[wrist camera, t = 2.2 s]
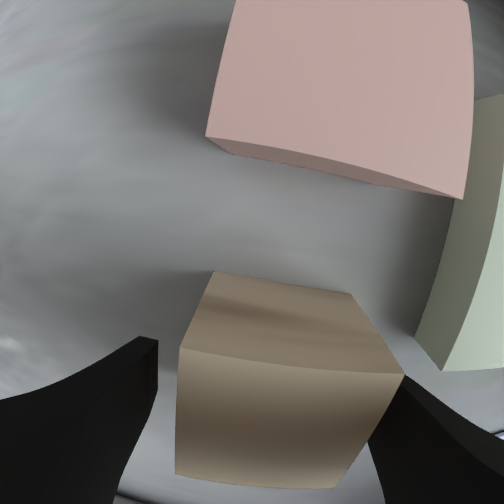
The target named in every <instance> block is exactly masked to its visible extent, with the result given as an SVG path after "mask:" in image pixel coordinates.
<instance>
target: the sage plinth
mask: <svg viewBox="0 0 504 504" xmlns="http://www.w3.org/2000/svg"><path fill="white" fill-rule="evenodd" d="M414 338H415V340H416V341H417V342H418V343H419V344H420V346H421V347H422V348H423V349H424V351H425V352H426V353H427V354H428V355H429V357H430V358H431V359H432V360H433V362H434V363H435V364H436V365H437V367H438V368H439V369H440V370H441V372H444V371H465V370H480V369H492V368H502V367H504V94H499V95H495V96H490V97H486V98H482V99H478V100H474V106H473V125H472V137H471V147H470V156H469V164H468V171H467V178H466V184H465V190H464V195H463V200H461V199H456V198H455V200H454V206H453V211H452V215H451V220H450V225H449V229H448V233H447V237H446V241H445V245H444V249H443V253H442V257H441V260H440V264H439V267H438V271H437V274H436V277H435V280H434V284H433V287H432V290H431V293H430V296H429V299H428V302H427V304H426V307H425V310H424V313H423V315H422V318H421V321H420V323H419V326H418V329H417V331H416V334H415V336H414Z"/></svg>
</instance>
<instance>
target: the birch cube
mask: <svg viewBox="0 0 504 504" xmlns="http://www.w3.org/2000/svg"><path fill="white" fill-rule="evenodd" d="M404 375H405V373H404V371H403V370H402V368H401V367H400V365H399V364H398V362H397V361H396V359H395V358H394V356H393V354H392V353H391V351H390V350H389V348H388V347H387V345H386V344H385V343H384V341H383V340H382V338H381V337H380V335H379V334H378V332H377V331H376V329H375V328H374V326H373V325H372V323H371V322H370V321H369V319H368V318H367V316H366V315H365V313H364V312H363V311H362V309H361V308H360V306H359V305H358V303H357V302H356V301H355V299H354V298H353V296H352V295H351V294H346V293H340V292H334V291H327V290H321V289H315V288H309V287H303V286H297V285H291V284H285V283H279V282H273V281H267V280H261V279H255V278H250V277H244V276H238V275H233V274H227V273H222V272H216V271H214V272H213V274H212V276H211V278H210V280H209V283H208V285H207V287H206V289H205V291H204V294H203V296H202V298H201V300H200V302H199V305H198V307H197V309H196V311H195V314H194V316H193V318H192V320H191V322H190V325H189V327H188V329H187V332H186V334H185V336H184V338H183V341H182V343H181V345H180V348H179V362H178V378H177V398H176V425H175V474H177V475H182V476H187V477H191V478H197V479H202V480H208V481H214V482H220V483H227V484H235V485H243V486H253V487H266V488H285V489H328V488H334V487H335V486H336V485H337V484H338V482H339V481H340V480H341V478H342V477H343V476H344V474H345V473H346V471H347V470H348V469H349V467H350V466H351V464H352V463H353V462H354V460H355V459H356V457H357V456H358V454H359V453H360V451H361V450H362V448H363V447H364V445H365V444H366V442H367V441H368V439H369V438H370V436H371V434H372V433H373V431H374V430H375V428H376V426H377V425H378V423H379V421H380V420H381V418H382V416H383V414H384V413H385V411H386V409H387V407H388V406H389V404H390V402H391V400H392V398H393V397H394V395H395V393H396V391H397V389H398V387H399V385H400V383H401V381H402V379H403V377H404Z"/></svg>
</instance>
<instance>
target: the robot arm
mask: <svg viewBox="0 0 504 504" xmlns="http://www.w3.org/2000/svg"><path fill="white" fill-rule="evenodd" d="M157 391H158V340H155V339H150V338H146V337H142V336H139V337H137V338H135V339H134V340H132V341H130V342H129V343H127V344H125V345H124V346H122V347H121V348H119V349H117V350H116V351H114V352H113V353H111V354H109V355H108V356H106V357H104V358H103V359H101V360H99V361H98V362H96V363H94V364H92V365H91V366H89V367H87V368H85V369H83V370H81V371H79V372H77V373H75V374H73V375H71V376H69V377H67V378H65V379H63V380H61V381H58V382H56V383H54V384H51V385H49V386H46V387H43V388H40V389H38V390H35V391H32V392H29V393H25V394H21V395H17V396H14V397H10V398H6V399H2V400H0V504H113V501H114V498H115V495H116V491H117V488H118V485H119V482H120V479H121V476H122V474H123V471H124V469H125V466H126V464H127V462H128V460H129V458H130V456H131V454H132V451H133V449H134V447H135V445H136V443H137V441H138V439H139V437H140V435H141V433H142V430H143V428H144V426H145V424H146V422H147V420H148V418H149V415H150V412H151V409H152V406H153V403H154V400H155V397H156V394H157ZM367 442H368V445H369V449H370V452H371V455H372V458H373V461H374V464H375V467H376V470H377V474H378V477H379V480H380V483H381V486H382V490H383V494H384V498H385V503H386V504H504V432H502V433H499V434H496V435H493V434H491V433H489V432H487V431H485V430H483V429H482V428H480V427H478V426H476V425H475V424H473V423H471V422H470V421H468V420H467V419H465V418H464V417H462V416H461V415H459V414H458V413H456V412H455V411H454V410H452V409H451V408H449V407H448V406H447V405H445V404H444V403H443V402H441V401H440V400H439V399H437V398H436V397H435V396H433V395H432V394H431V393H430V392H428V391H427V390H426V389H424V388H423V387H422V386H420V385H419V384H418V383H416V382H415V381H414V380H412V379H411V378H409V377H408V376H406V375H404V377H403V379H402V381H401V383H400V385H399V387H398V389H397V391H396V393H395V395H394V397H393V398H392V400H391V402H390V404H389V406H388V407H387V409H386V411H385V413H384V414H383V416H382V418H381V420H380V421H379V423H378V425H377V426H376V428H375V430H374V431H373V433H372V434H371V436H370V438H369V439H368V441H367Z"/></svg>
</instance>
